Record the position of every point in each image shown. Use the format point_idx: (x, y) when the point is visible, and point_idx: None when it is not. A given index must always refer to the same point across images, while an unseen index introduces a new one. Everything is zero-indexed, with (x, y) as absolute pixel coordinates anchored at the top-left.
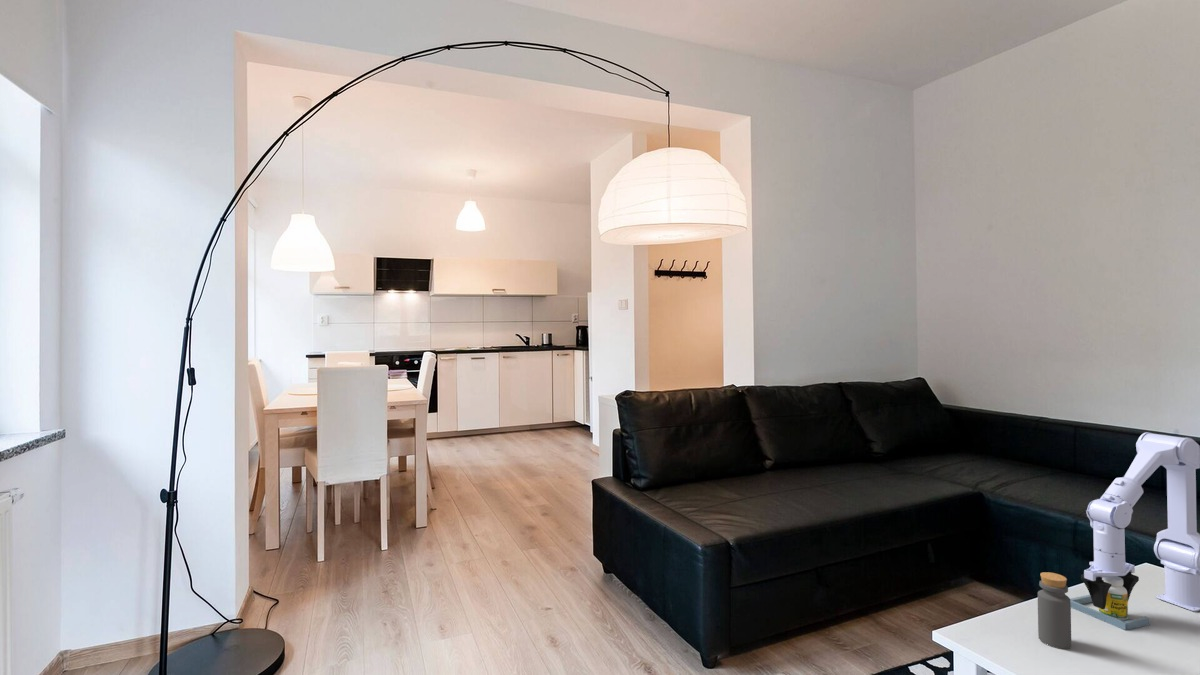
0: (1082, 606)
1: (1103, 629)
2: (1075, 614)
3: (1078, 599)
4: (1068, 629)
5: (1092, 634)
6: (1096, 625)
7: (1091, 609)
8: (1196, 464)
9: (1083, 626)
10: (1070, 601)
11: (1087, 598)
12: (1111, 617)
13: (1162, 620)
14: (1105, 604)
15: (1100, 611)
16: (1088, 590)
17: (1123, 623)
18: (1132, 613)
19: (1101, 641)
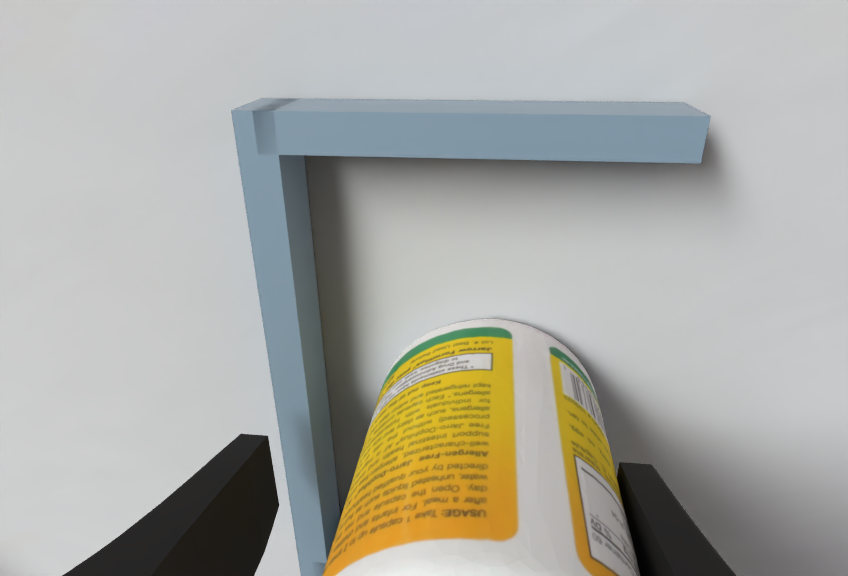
0: (259, 291)
1: (172, 478)
2: (172, 267)
3: (400, 156)
4: None
5: (32, 484)
6: (176, 433)
7: (280, 366)
8: None
9: (60, 408)
10: (242, 161)
11: (577, 156)
12: (304, 502)
13: (789, 569)
14: (252, 562)
15: (389, 373)
16: (90, 560)
17: (300, 570)
18: (722, 435)
19: (19, 540)
